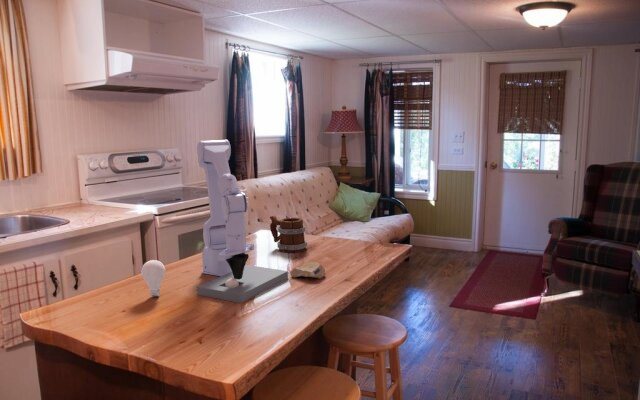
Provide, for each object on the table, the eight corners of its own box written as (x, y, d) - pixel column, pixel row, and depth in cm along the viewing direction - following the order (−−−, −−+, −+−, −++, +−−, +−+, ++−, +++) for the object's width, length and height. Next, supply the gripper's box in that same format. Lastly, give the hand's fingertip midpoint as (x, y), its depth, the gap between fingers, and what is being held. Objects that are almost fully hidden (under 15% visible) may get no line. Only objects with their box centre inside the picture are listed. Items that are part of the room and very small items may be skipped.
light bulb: (171, 294, 151) (169, 258, 149) (157, 301, 144) (154, 264, 143) (152, 292, 153) (150, 256, 151) (138, 299, 147) (135, 262, 145)
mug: (302, 254, 190) (294, 214, 189) (268, 257, 196) (261, 219, 194) (314, 246, 201) (307, 209, 200) (282, 249, 207) (275, 213, 205)
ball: (226, 294, 152) (221, 285, 150) (231, 284, 155) (226, 275, 152) (238, 294, 150) (232, 285, 148) (242, 284, 153) (237, 275, 151)
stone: (313, 283, 158) (313, 269, 157) (288, 277, 164) (287, 264, 164) (329, 276, 164) (329, 263, 164) (305, 271, 171) (304, 258, 170)
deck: (197, 294, 150) (197, 286, 149) (247, 272, 170) (247, 264, 170) (240, 303, 142) (240, 294, 141) (288, 278, 162) (287, 271, 162)
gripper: (230, 241, 143) (233, 287, 145) (261, 230, 155) (263, 273, 157) (211, 238, 146) (214, 284, 148) (242, 228, 158) (244, 270, 161)
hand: (238, 278), depth 153 cm, fingers closed
